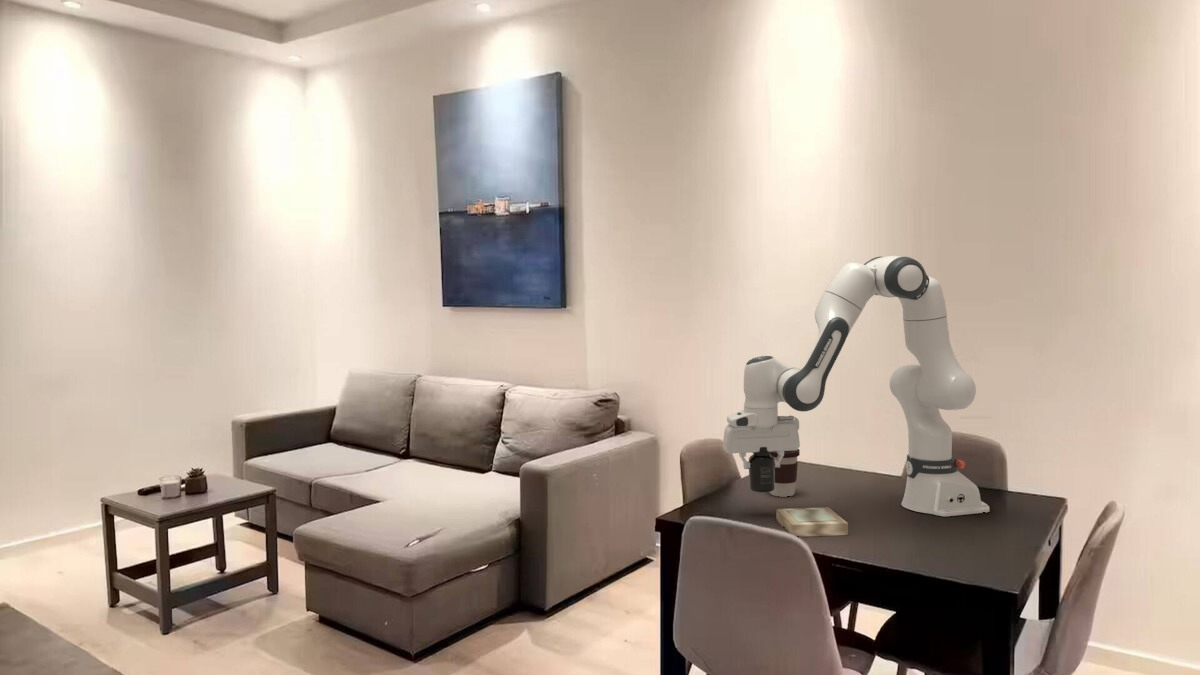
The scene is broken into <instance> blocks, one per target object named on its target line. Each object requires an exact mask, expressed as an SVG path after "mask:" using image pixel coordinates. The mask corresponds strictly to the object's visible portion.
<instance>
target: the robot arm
mask: <svg viewBox="0 0 1200 675" xmlns="http://www.w3.org/2000/svg"><path fill="white" fill-rule="evenodd" d="M873 296H880V297H885V298H898V300H899V302H900V304H901V308H902V320H903V321H902V322H903V331H904V340H905V347H906V349H907V350H908V351H909V352H910V353H911V354H912V355H913V356H914V357H915V359H916V360H917V362H918V363H919V364H909V365H903V366H899V367H897V368H895V369H894V371H893V372H892V374H891V376H890V379H889V388H890V392H891V393H892V395H893V396H894V398H896V400H897V401H898V402H899V404H900V406H901V408H902V410H903V413H904V416H905V419H906V424H907V431H908V438H907V439H908V453H907V455H906V466H905V467H906V469H905V470H906V476H907V477H906V484H905V490H904V495H903V498H902V501H901V506H902V507H903V508H905V509H907V510H910V511H914V512H918V513H923V514H929V515H935V516H940V517H951V516H952V517H955V516H963V515H964V516H965V515H974V514H984V513H983V512H985V513H989V512H990V511H991V510H990V506H989V505H988V504H987V503H985V502H984V501H982V500H981V493H980V490H979V487H978V486H977V485H976V484H975V483H974V482H972V481H971V480H970V479H969V478H967V477H966V475H963V473H961V472H960V471H959V468H960V469H964V468H965V467H966V462H965V461H964V460H961V459H957V458H954V457H953V456H952V455H953V454H952V453H953V452H952V450H953V449H952V447H953V445H952V444H953V432H952V428H951V427H950V425H949V424H948V423H947V422H946V421H945V420H944V418H943V416H942V415H941V412H940V410H946V411H955V410H956V411H957V410H964V409H967V408H968V407H969V406H971V405H972V404H973V402H974V400H975V397H976V394H977V387H976V383H975V381H974V379H973V377H972V376H970V375H969V374H968V373H967V372H966V371H965V370H964V369H963V368H962V366H961V364H960V363H959V360H958V359H957V358H956V355H955V353H954V351H953V348H952V344H951V340H950V333H949V325H948V324H949V323H948V315H947V305H946V300H945V295H944V293H943V288H942V287H941V283H940V282H939V280H937V279H936V278H934V277H933V276H928V275H927V273H926V270H925V268H924V266H923V265H922V264H921V263H920V262H919V261H918V260H916V259H914V258H912V257H909V256H900V255H888V256H876V257H873V258H871V259H869V260H867V261H866V262H865V263H861V262H847V263H846V264H845V265H843V266H842V267H841V269H839V270H838V272H837V273H836V274H835V276H834V277H833V278H832V280H831V281H830V283H829V284H828V285H827V287H826V288H825V290H824V291H823V294H822V295H821V297H820V298H819V300H818V303H817V305H816V307H815V308H816V309H815V310H814V320H815V323H816V324H817V329H818V337H817V341H816V342H815V343H814V346H813V348H812V350H811V352H810V353H809V356H808V358H807V360H806V362H805V364H804V365H803V366H802V368H799V367H794V366H792V365H788V364H786V363H783V362H781V361H779V360H778V359H776V358H775V357H774V356H772V355H761V356H757V357H752V358H751V359H749V360H748V361H747V362H746V363H745V366H744V372H743V392H744V393H743V394H744V395H745V396H744V398H745V399H744V404H743V409H742V410H739V411H737V412H734V413H731V414H729V415H727V417H726V421H727V425H726V426H725V428H724V431H723V439H722V440H723V443H722V445H723V446H722V447H723V451H725V452H726V453H727V454H738V456H739V458H740V459H741V461H742V462H743V466H742V467H743V469H744V470H749V469H750V462H749V460H748V461H747V459H746V457H747V453H752V452H759V450H760V447H767V451H768V452H772V451H777V453H778V454H779V455H778V457H777V459H776V460H774V465H775V468H778V467H780V461H781V460H782V458H783V456H784V451H793V450H798V449H799V448H800V446H801V443H800V435H799V429H800V420H799V419H798V417H795V416H794V415H788V416H787V415H779V412H778V411H779V409H778V408H779V406H778V404H779V403H781V402H782V403H783V402H784V403H786V404H787V405H788V406H789V407H790V408H792V409H793V410H795V411H796V412H809V411H812V410H815V409H816V408H817V407H818V406H819V405H820V404H821V403H822V402H823V398H824V397H825V396H824V395H825V392H826V391H825V390H826V384H827V380H828V377H829V375H830V372H831V370H832V368H833V366H834V365H835V363H836V360H837V359H838V356H839V355H840V353H841V351H842V349H843V347H844V345H845V343H846V340H847V338H848V336H849V335H850V333H851V330H852V329H853V327H854V325H855V324H856V322H857V320H858V319H859V317H860V315H861V314H862V312H863V311H864V308H865V306H866V305H867V303H868V302H869V301H870V299H871V298H872V297H873ZM752 454H753V453H752Z"/></svg>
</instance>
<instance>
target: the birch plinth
mask: <svg viewBox="0 0 1200 675" xmlns="http://www.w3.org/2000/svg"><path fill="white" fill-rule="evenodd" d="M775 514H776V519H777V520H778V521H779V522H780V523H781V524H782V525H781V524H780V523H779V522H778V521H777V520H776V521H777V522H778V523H779V524H780V525H781V527H783V526H784V527H785V529H787V530H788V532H790V533H792V534H794V535H797V536H799V537H801V538H803V537H804V538H805V537H822V536H823V537H829V536H848V535H849V523H848V522H847V521H846V520H845V519H843V517H842V516H840V515H838V514H837V513H836V512H834V510H833V509H831V508H830V507H828V506H827V507H824V506H823V507H802V508H801V507H800V508H777V509H776V513H775ZM785 529H784V530H785ZM788 532H787V533H788ZM799 537H798V538H799Z"/></svg>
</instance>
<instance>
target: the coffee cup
mask: <svg viewBox="0 0 1200 675" xmlns="http://www.w3.org/2000/svg"><path fill="white" fill-rule="evenodd" d="M770 455H771V456H773V458H774V460H776V459H777V457H778V455H779V454H778V453H777V451H772V452H771V453H770ZM799 456H800V449H799V448H798V450H793V451H784V456H783V458H782V460H781V461H780V467H778V468H775V489H774V490H773V491H771V492H769V494H770V495H772V496H774V497H778V496H779V497H780V498H788V497H787V496H790V497H792V496H793V497H794V495H795V493H796V482H797V476H798V464H799V463H798V457H799Z"/></svg>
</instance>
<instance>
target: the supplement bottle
mask: <svg viewBox="0 0 1200 675" xmlns="http://www.w3.org/2000/svg"><path fill="white" fill-rule="evenodd" d="M770 453H771V452H768V451H767V447H760V450H759V452H752V454H751V455H750V456H749V458H748V461H749V462H750V469H748V486H749V490H750V491H752V492H756V493H770V492H771V491H773V490H774V489H775V465H774V458H773V456H771V455H770Z"/></svg>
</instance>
